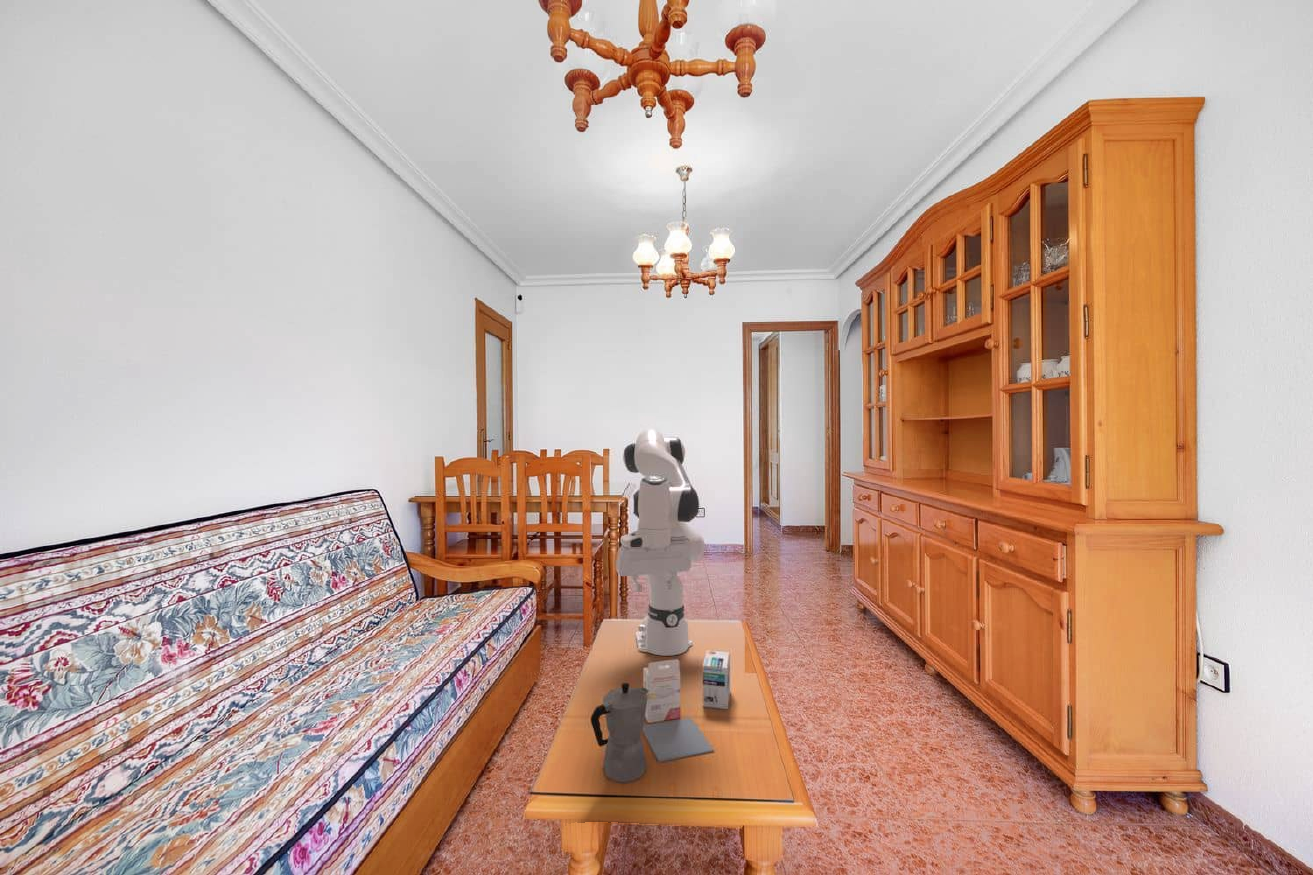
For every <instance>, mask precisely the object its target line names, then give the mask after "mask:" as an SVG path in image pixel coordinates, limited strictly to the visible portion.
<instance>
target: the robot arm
mask: <svg viewBox="0 0 1313 875" xmlns="http://www.w3.org/2000/svg"><path fill="white" fill-rule="evenodd" d="M685 457H686V448H685V446H684V443H683V442H682V441H681V439H680V438H679V437H674V436H669V437H664V436H663V434H661V433H660V432H659V431H657V430H655V429H650V428H649V429H646V430H643V431H642V432H641V433H640V434H639V435H638V437H637V438H636V441H635V443H634V442H633V443H631V444H628V445H627V446H626V447H625V448H624V450H623V456H622V459H623V460H622V461H623V465H624V466H625V467H626V470H627V471H628V472H630V473H634V474H635V473H636V474H638V473H639V474H640V475H642V476H644V477H642V479H640V482H639V487H638V488H639V489H637V491H636V492H635V493H633V496H632V498H633V513H632V514H633V515H634V516H636V517H637V519H638V523H637V530H635V531H633V532H630V533H626V534H624V535H622V536H620V543H621V546H620V547H619V548H618V550H617V554H616V562H615V570H616V573H617V574H618V575H619V576H621V577H630V579H631V580H632V582H633V583H634V590H635V593H640V592H643V584H641V583H639V582H638V579H639V576H642V575H643V576H644V575H646V578H647V581H648V586H649V587H648V588H649V589H648V590H649V604H648V608H647V615H646V616H645V617H644V618H643V619H642V623H641V624H638V631H636V632H635V639H637V640H636V644H637V649H638V651H639V652H642V653H643V652H644V653H649V654H652V655H655V656H656V655H657V656H666V657H667V656H670V657H671V656H676V655H681V654H683V653H684V652H686V651H687V650H688V648H690V647H691V646H693V640H691V639H690V636H689V623H688V622H689V621H688V620H687V619H686V618H685V605H684V584H683V581H682V579H680V577H678V573H682V572H689V571H690V570H691V568H692V563H694V562H697V561H700V560H701V559H702V557H703V556H704V553H705V546H706V545H705V540H704V538H703V536H702V535H701V534H700V533H699V532H698V531H696V530H695V529H693V528H692V527H691V526H689V525H688V524H687V523H690V522H691V521H693V519H695V518H696V517H697V516H698V515H699V510H700V499H699V496H698V493H697V491H696V490H695V489H694V487H693V485H692V484H691V481H690V479H689V477H688V475H687V473H686V470H685V468H684V467H683V465H682V464H683V463H684V461H685Z"/></svg>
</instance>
